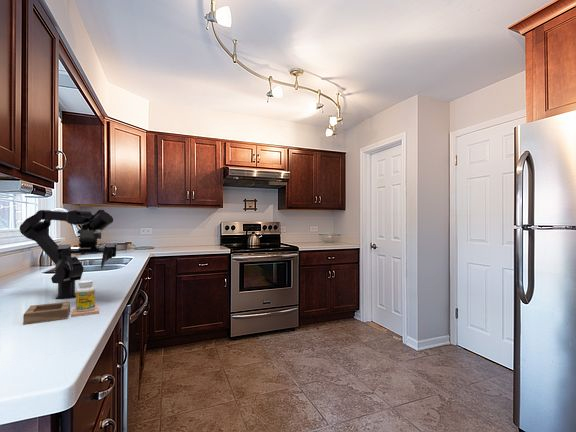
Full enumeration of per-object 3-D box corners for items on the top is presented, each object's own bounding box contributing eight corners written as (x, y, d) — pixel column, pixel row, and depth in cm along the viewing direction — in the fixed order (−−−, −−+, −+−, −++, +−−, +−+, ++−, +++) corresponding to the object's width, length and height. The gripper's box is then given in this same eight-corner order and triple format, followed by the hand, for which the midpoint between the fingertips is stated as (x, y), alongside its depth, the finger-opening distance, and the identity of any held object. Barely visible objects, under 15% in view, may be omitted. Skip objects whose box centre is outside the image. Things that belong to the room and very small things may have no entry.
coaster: (72, 311, 105) (72, 308, 105) (98, 307, 109) (98, 305, 109) (71, 316, 98) (71, 314, 98) (98, 313, 102) (98, 310, 102)
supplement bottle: (94, 306, 107) (95, 279, 108) (95, 310, 103) (95, 281, 103) (76, 309, 104) (76, 280, 105) (75, 313, 100) (76, 283, 100)
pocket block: (30, 314, 100) (30, 305, 100) (70, 310, 106) (70, 301, 106) (23, 324, 91) (23, 314, 91) (67, 318, 96) (67, 309, 97)
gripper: (57, 222, 111) (52, 256, 101) (116, 222, 121) (117, 253, 111) (59, 242, 118) (55, 276, 108) (115, 241, 127) (116, 271, 118)
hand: (86, 268), depth 111 cm, fingers open, 9 cm apart
